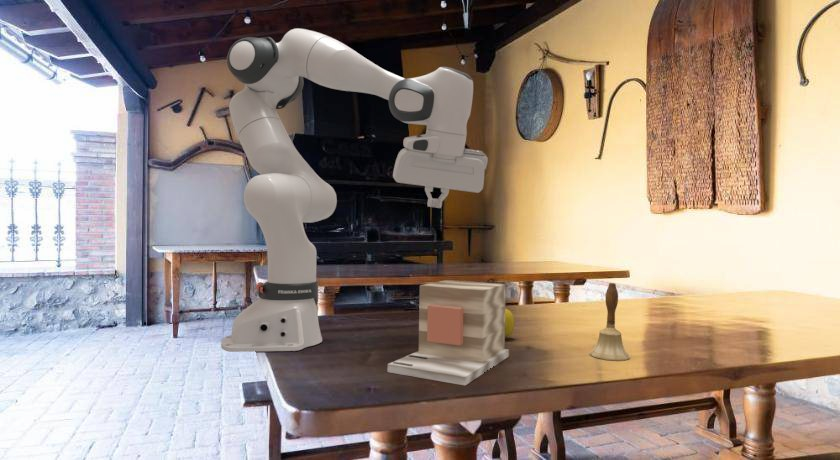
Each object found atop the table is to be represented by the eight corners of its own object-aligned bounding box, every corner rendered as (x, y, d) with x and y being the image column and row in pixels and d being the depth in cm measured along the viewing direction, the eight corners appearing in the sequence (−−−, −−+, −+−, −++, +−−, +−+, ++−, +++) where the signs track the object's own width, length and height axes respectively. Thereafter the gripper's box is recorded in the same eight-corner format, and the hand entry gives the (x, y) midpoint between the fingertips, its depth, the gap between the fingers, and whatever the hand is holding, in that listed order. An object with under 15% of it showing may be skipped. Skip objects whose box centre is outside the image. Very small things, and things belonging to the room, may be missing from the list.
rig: (465, 385, 92) (466, 297, 92) (387, 372, 99) (388, 290, 99) (508, 356, 113) (510, 284, 112) (441, 347, 120) (442, 279, 120)
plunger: (459, 345, 100) (460, 309, 100) (427, 341, 104) (427, 305, 104) (481, 334, 111) (482, 301, 111) (451, 330, 114) (452, 298, 114)
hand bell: (629, 353, 117) (630, 282, 117) (631, 362, 109) (632, 286, 109) (590, 350, 120) (591, 280, 120) (589, 358, 112) (590, 284, 112)
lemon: (513, 342, 126) (514, 309, 126) (490, 340, 127) (491, 308, 127) (514, 337, 132) (515, 305, 132) (492, 336, 133) (492, 304, 133)
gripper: (485, 150, 120) (474, 209, 123) (397, 137, 115) (388, 198, 118) (493, 153, 114) (482, 215, 117) (401, 140, 109) (391, 204, 112)
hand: (434, 206), depth 118 cm, fingers closed
